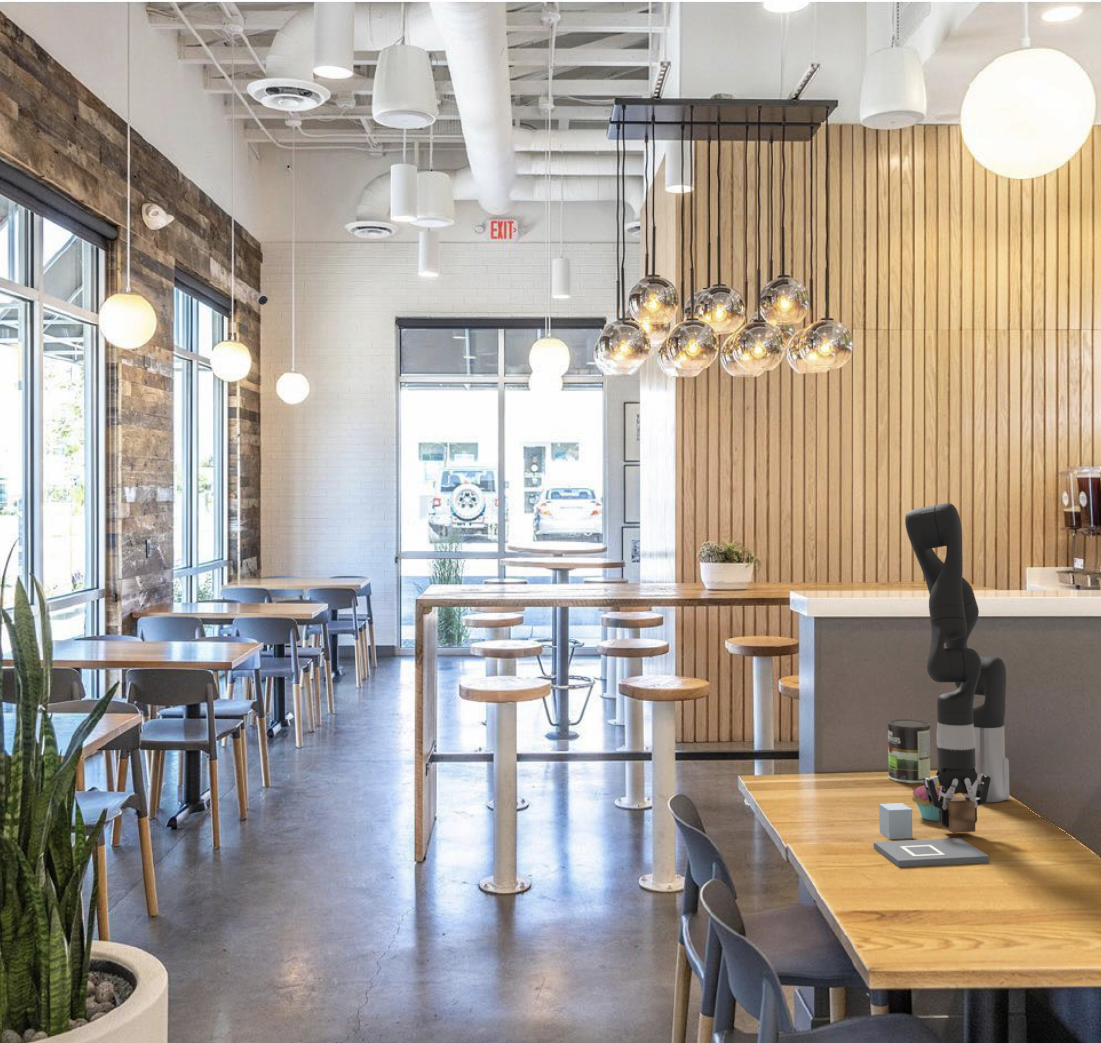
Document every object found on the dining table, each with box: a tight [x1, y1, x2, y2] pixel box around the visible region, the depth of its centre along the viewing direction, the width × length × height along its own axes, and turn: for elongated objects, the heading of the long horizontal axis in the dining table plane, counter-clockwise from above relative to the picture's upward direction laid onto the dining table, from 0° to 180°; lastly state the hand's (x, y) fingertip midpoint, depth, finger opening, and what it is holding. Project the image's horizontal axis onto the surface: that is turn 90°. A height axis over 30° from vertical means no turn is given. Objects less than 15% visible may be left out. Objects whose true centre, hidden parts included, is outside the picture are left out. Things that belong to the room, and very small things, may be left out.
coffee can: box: [886, 718, 931, 784], centre depth 276 cm, size 10×10×14 cm
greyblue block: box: [878, 802, 914, 840], centre depth 228 cm, size 5×5×6 cm
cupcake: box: [911, 782, 955, 821], centre depth 240 cm, size 9×8×12 cm
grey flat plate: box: [873, 837, 990, 868], centre depth 214 cm, size 18×12×1 cm, turn 95°
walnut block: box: [940, 795, 977, 834], centre depth 227 cm, size 5×5×6 cm
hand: (957, 825), depth 227 cm, fingers closed on walnut block, 5 cm apart
